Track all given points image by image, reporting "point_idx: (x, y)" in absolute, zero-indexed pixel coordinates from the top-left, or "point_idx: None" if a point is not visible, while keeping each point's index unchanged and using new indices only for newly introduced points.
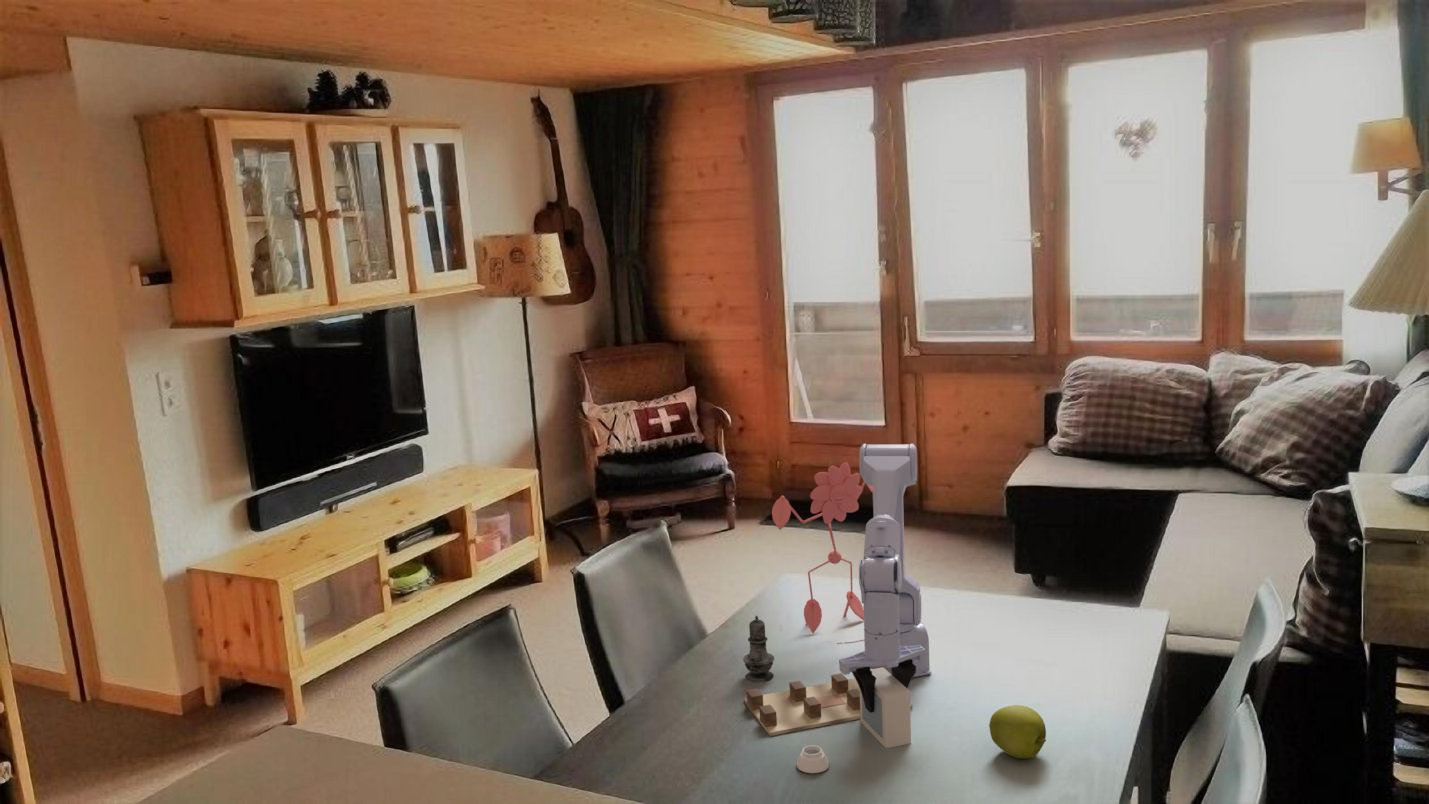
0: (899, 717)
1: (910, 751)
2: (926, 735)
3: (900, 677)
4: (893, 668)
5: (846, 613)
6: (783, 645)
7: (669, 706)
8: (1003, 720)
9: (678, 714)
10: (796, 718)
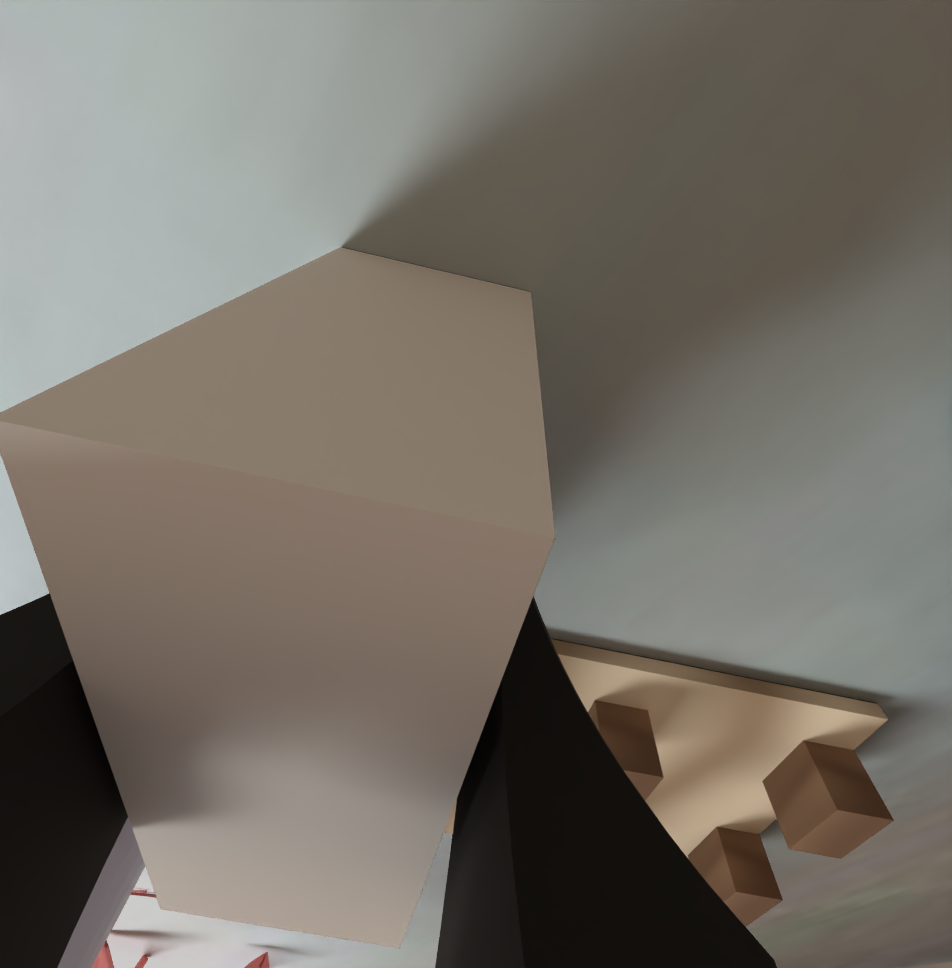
0: (373, 326)
1: (411, 136)
2: (191, 279)
3: (22, 765)
4: (46, 918)
5: (138, 963)
6: (372, 950)
7: (896, 927)
8: None
9: (929, 900)
10: (689, 736)
